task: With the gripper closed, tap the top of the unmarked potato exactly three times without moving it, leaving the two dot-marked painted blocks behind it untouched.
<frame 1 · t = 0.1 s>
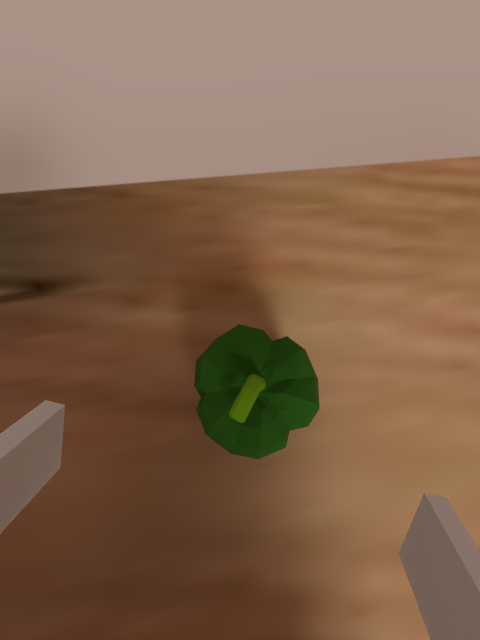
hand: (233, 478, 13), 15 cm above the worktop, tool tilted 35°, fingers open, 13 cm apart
bell pepper: (247, 399, 29), on the worktop
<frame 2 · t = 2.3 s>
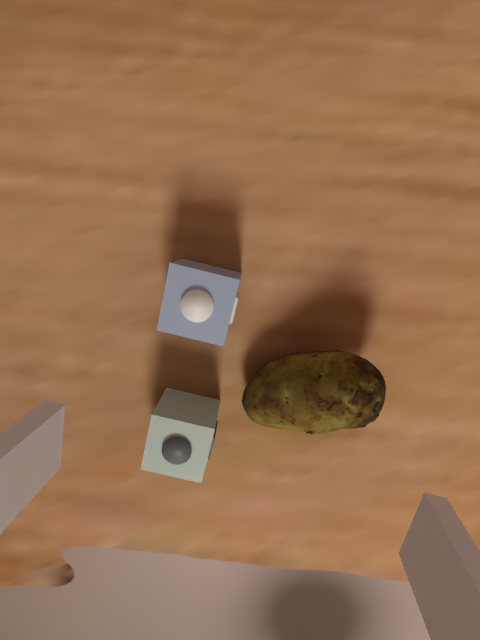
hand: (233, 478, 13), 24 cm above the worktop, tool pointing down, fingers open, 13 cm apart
sage block: (187, 417, 39), on the worktop
potato: (303, 374, 38), on the worktop
slate blue block: (205, 294, 36), on the worktop
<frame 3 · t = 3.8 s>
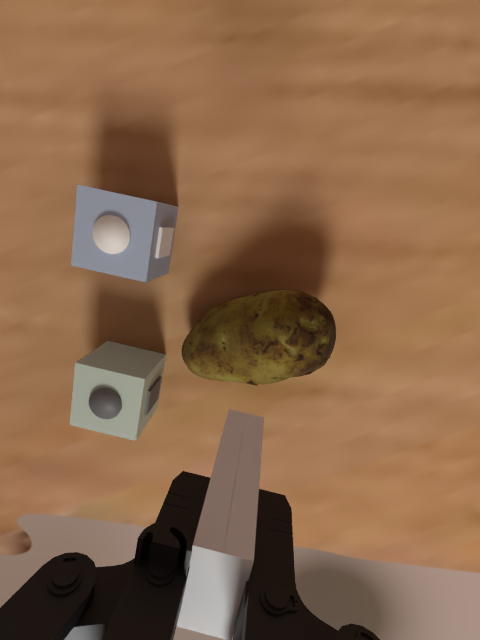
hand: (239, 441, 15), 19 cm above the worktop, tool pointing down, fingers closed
sage block: (133, 374, 36), on the worktop
potato: (255, 324, 33), on the worktop
slate blue block: (141, 233, 32), on the worktop
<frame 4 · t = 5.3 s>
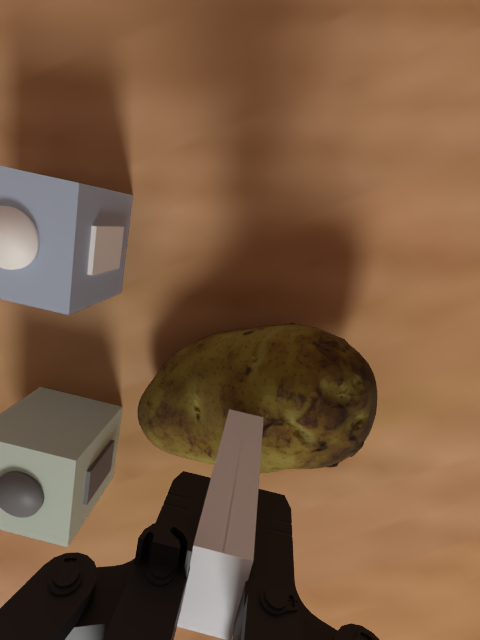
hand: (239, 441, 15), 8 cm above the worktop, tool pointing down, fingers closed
sage block: (78, 432, 25), on the worktop
potato: (248, 367, 23), on the worktop, touching gripper
slate blue block: (80, 235, 22), on the worktop
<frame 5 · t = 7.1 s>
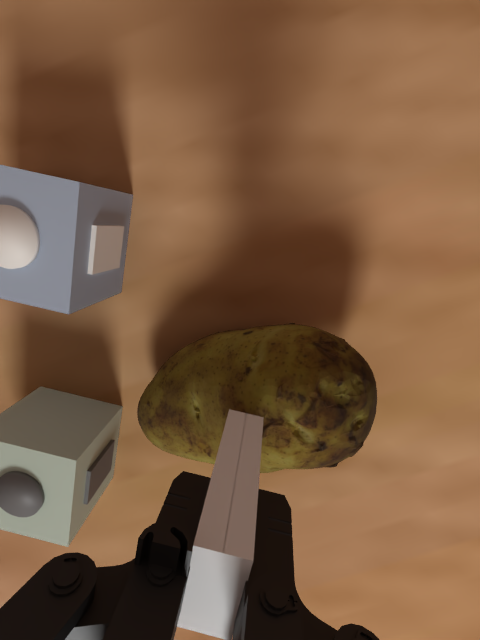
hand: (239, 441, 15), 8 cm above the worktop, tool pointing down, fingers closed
sage block: (78, 432, 25), on the worktop
potato: (248, 367, 23), on the worktop, touching gripper
slate blue block: (80, 234, 22), on the worktop
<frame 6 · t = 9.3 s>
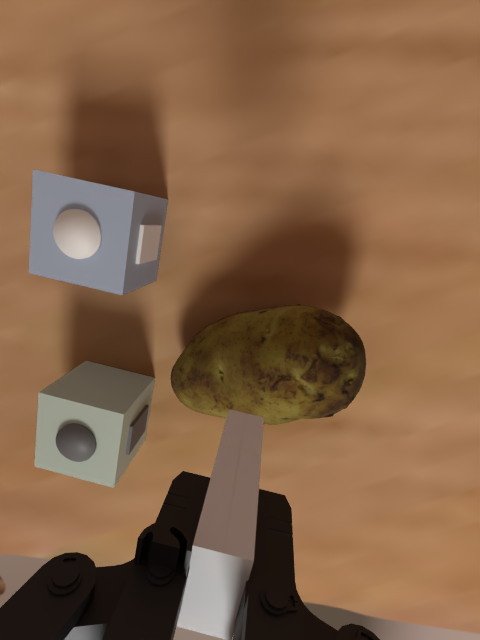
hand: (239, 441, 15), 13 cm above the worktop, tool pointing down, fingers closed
sage block: (116, 400, 30), on the worktop
potato: (262, 344, 27), on the worktop
slate blue block: (123, 232, 26), on the worktop
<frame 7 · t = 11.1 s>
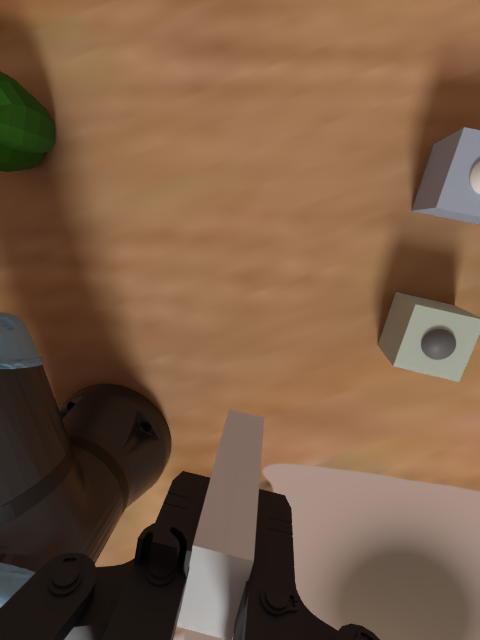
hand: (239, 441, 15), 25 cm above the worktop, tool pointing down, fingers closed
sage block: (414, 325, 37), on the worktop
bell pepper: (32, 134, 37), on the worktop
slate blue block: (453, 184, 33), on the worktop
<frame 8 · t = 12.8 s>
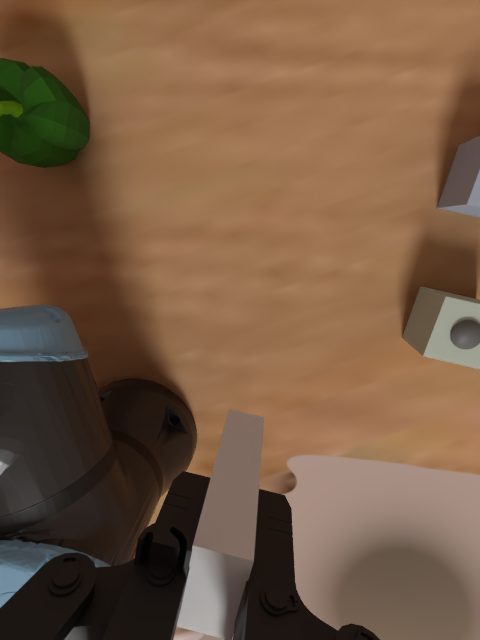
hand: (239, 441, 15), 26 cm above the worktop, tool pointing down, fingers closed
sage block: (437, 318, 39), on the worktop
bell pepper: (65, 131, 38), on the worktop
slate blue block: (477, 183, 35), on the worktop
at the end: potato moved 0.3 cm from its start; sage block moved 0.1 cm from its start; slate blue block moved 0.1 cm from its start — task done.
